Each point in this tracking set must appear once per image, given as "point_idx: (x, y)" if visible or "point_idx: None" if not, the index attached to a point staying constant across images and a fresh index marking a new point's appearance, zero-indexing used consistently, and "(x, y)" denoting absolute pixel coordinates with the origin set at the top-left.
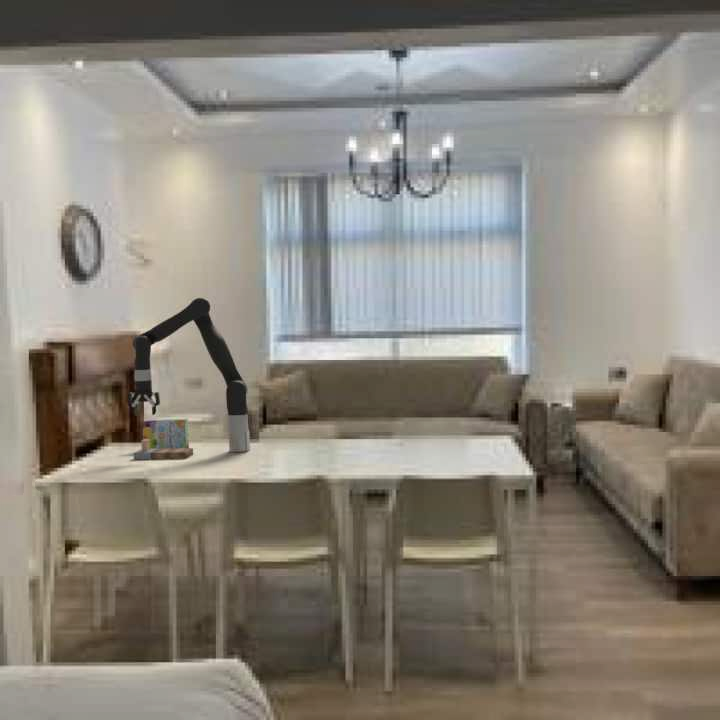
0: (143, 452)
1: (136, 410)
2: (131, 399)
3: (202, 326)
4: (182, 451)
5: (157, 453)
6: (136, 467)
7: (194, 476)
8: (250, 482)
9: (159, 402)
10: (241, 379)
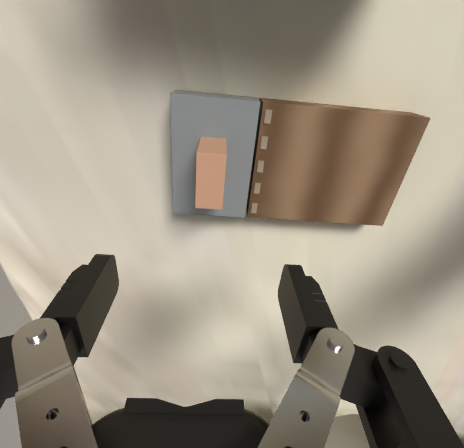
0: (214, 212)
1: (97, 288)
2: None
3: None
4: (369, 208)
5: (270, 216)
6: (227, 319)
7: None
8: None
9: (413, 386)
10: None
